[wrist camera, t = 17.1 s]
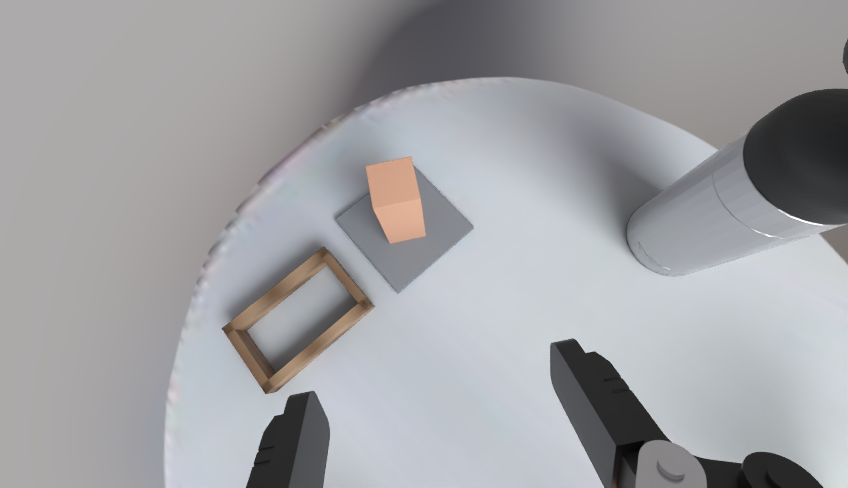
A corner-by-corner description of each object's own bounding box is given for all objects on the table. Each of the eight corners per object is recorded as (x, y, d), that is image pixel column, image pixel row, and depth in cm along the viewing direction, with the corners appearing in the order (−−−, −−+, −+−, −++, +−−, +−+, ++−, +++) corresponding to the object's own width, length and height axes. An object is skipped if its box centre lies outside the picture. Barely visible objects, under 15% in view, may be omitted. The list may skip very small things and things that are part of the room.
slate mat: (409, 164, 47) (409, 160, 46) (473, 228, 44) (473, 226, 43) (336, 222, 45) (335, 219, 44) (398, 293, 42) (397, 292, 41)
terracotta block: (418, 202, 44) (411, 156, 34) (425, 236, 43) (420, 198, 32) (383, 210, 44) (365, 166, 34) (389, 243, 43) (373, 208, 32)
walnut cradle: (330, 252, 44) (323, 246, 41) (375, 306, 42) (370, 304, 39) (234, 329, 42) (221, 328, 39) (276, 391, 39) (265, 394, 37)
